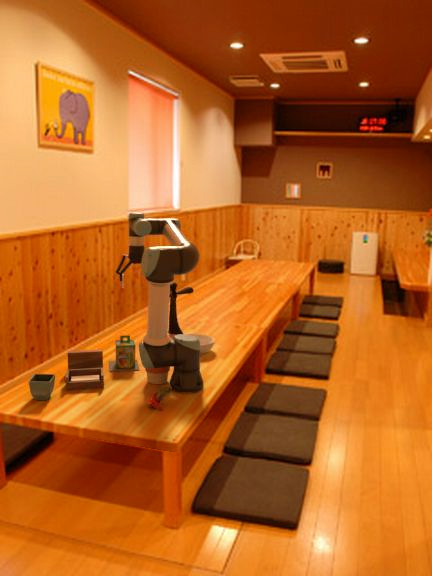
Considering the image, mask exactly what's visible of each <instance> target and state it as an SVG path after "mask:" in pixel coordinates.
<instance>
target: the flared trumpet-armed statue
mask: <svg viewBox="0 0 432 576" xmlns="http://www.w3.org/2000/svg"><path fill="white" fill-rule="evenodd" d="M177 288H178V284H177V283H176V282H172V283H170V292H169V312H168V332H167V334H168V333H169V334H170V335H178V334H184V332H183V330H182V328H181V327H180V324H179V321H178V313H177V298H178V295H188V294H192V293H194V288H193V287H191V286H186V287H185V288H183V289H180V290H178V291H177Z"/></svg>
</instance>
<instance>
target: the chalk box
mask: <svg viewBox="0 0 432 576" xmlns="http://www.w3.org/2000/svg"><path fill="white" fill-rule="evenodd" d="M135 360H136V343H135V340H134V339H131V335H130V334H128V335H120V337H119V339H118V340H115V361H116V368H135Z"/></svg>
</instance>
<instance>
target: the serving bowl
mask: <svg viewBox="0 0 432 576" xmlns="http://www.w3.org/2000/svg"><path fill="white" fill-rule="evenodd" d="M185 335H191V336H194V337H196V338H198V339H199V341H200V348H201V350H200V355H201V354H204V353H207V352H209V351H211V350H212V348H213V347H214V344H215V338H214V337H212V336H209V335H206V334H203V333H185Z"/></svg>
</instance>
